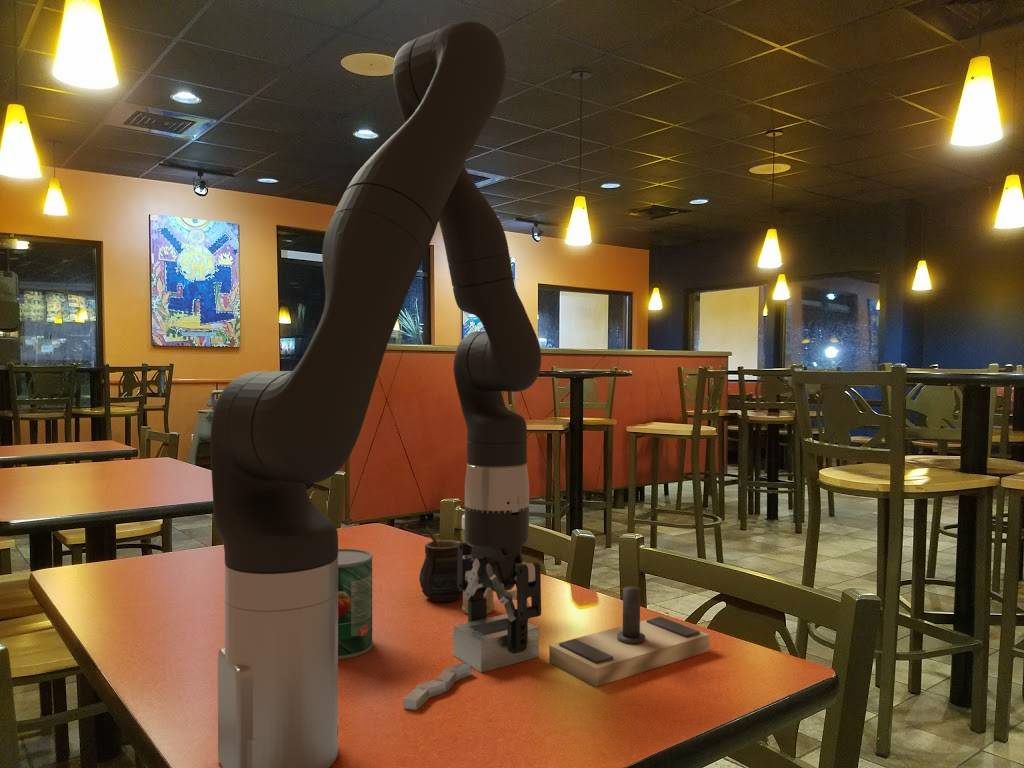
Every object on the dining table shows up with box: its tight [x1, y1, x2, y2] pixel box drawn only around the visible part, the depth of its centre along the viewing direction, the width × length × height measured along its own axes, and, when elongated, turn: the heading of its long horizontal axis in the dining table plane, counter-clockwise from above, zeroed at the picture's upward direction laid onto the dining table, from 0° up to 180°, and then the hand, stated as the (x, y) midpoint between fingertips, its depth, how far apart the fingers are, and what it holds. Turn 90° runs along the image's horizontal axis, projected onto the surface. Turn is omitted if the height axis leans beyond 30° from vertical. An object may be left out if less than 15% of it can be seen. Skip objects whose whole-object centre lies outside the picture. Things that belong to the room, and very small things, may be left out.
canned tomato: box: [338, 548, 374, 660], centre depth 90 cm, size 8×8×11 cm
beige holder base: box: [548, 585, 710, 688], centre depth 87 cm, size 18×8×8 cm, turn 125°
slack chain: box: [402, 661, 473, 711], centre depth 78 cm, size 11×2×1 cm, turn 149°
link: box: [452, 613, 540, 673], centre depth 87 cm, size 8×6×4 cm
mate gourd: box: [418, 526, 463, 603], centre depth 109 cm, size 7×8×10 cm
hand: (496, 640), depth 87 cm, fingers open, 8 cm apart
